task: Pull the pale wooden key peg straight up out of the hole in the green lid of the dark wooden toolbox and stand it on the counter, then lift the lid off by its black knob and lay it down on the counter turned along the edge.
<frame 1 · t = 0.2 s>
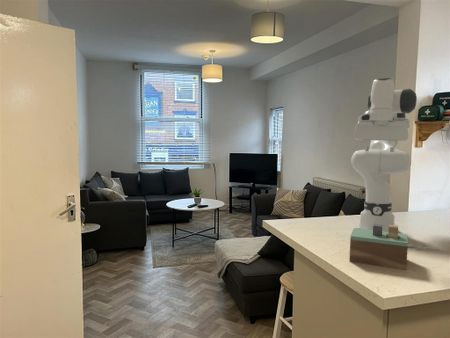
hand: (379, 151, 145), 39 cm above the counter, tool pointing down, fingers open, 8 cm apart
key: (391, 262, 126), point 1 cm above the counter, touching toolbox
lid: (378, 238, 127), point 9 cm above the counter, touching toolbox
toolbox: (377, 262, 128), on the counter
pliers: (417, 250, 144), on the counter
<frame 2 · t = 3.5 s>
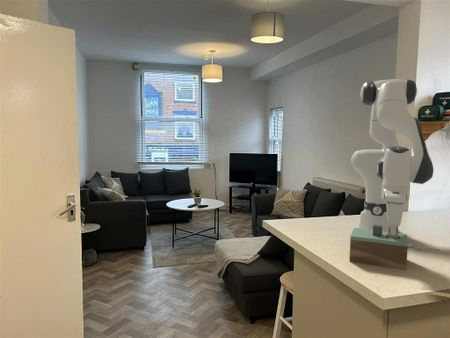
hand: (393, 232, 125), 12 cm above the counter, tool pointing down, fingers closed on key, 3 cm apart
key: (391, 262, 126), point 1 cm above the counter, touching gripper, toolbox
everything else where it was.
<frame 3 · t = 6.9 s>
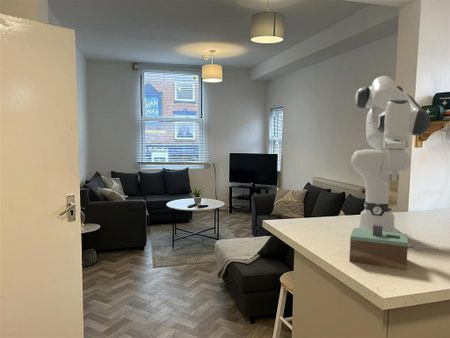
hand: (394, 180, 134), 29 cm above the counter, tool pointing down, fingers closed on key, 3 cm apart
key: (392, 207, 135), point 18 cm above the counter, touching gripper
everything else where it was.
when the fingers open (13 cm above the counter, at t = 10.2 s): key drops 2 cm, on the counter.
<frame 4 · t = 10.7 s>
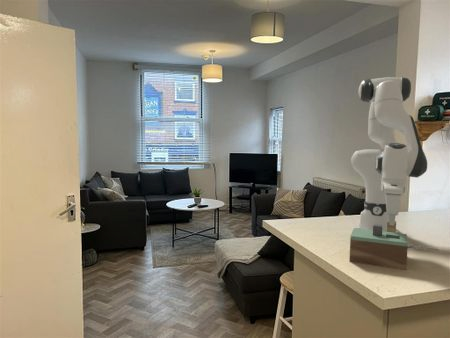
hand: (391, 222, 136), 13 cm above the counter, tool pointing down, fingers open, 8 cm apart
key: (389, 254, 137), on the counter
everything else where it was.
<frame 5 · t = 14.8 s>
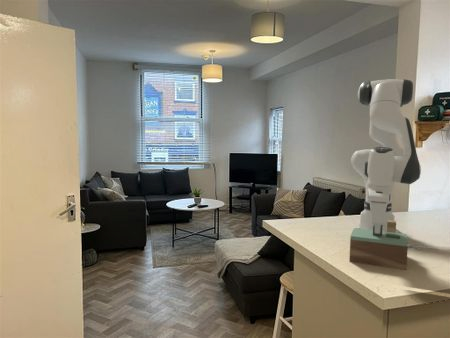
hand: (377, 231, 127), 11 cm above the counter, tool pointing down, fingers closed on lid, 3 cm apart
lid: (378, 238, 127), point 9 cm above the counter, touching gripper, toolbox
everything else where it was.
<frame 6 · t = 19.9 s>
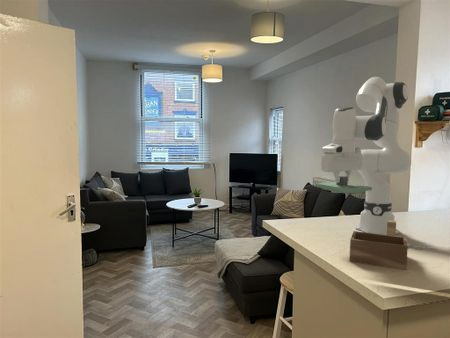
hand: (342, 182, 144), 27 cm above the counter, tool pointing down, fingers closed on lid, 3 cm apart
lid: (342, 188, 143), point 24 cm above the counter, touching gripper
everything else where it was.
when the fingers open (5 cm above the counter, at t = 25.4 s): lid drops 1 cm, point 1 cm above the counter.
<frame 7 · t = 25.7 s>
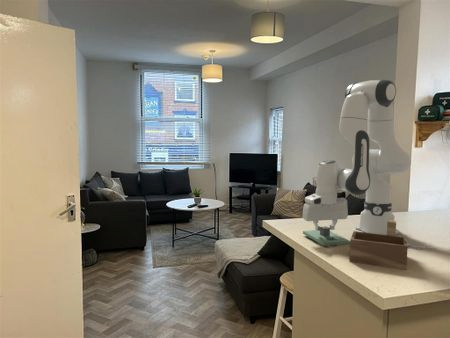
hand: (324, 229, 154), 5 cm above the counter, tool pointing down, fingers open, 5 cm apart
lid: (325, 238, 154), point 1 cm above the counter
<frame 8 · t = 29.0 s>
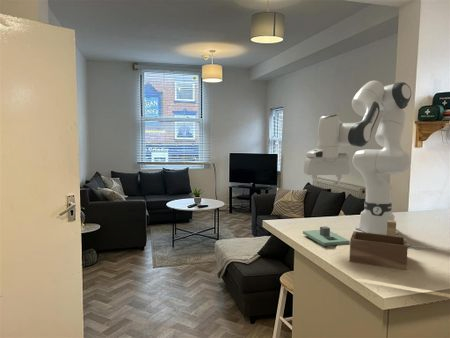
hand: (326, 185, 152), 24 cm above the counter, tool pointing down, fingers open, 8 cm apart
at the end: key inside the target area (0.0 cm from its centre), on the counter; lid inside the target area (0.8 cm from its centre), point 1.0 cm above the counter; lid touching counter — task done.
